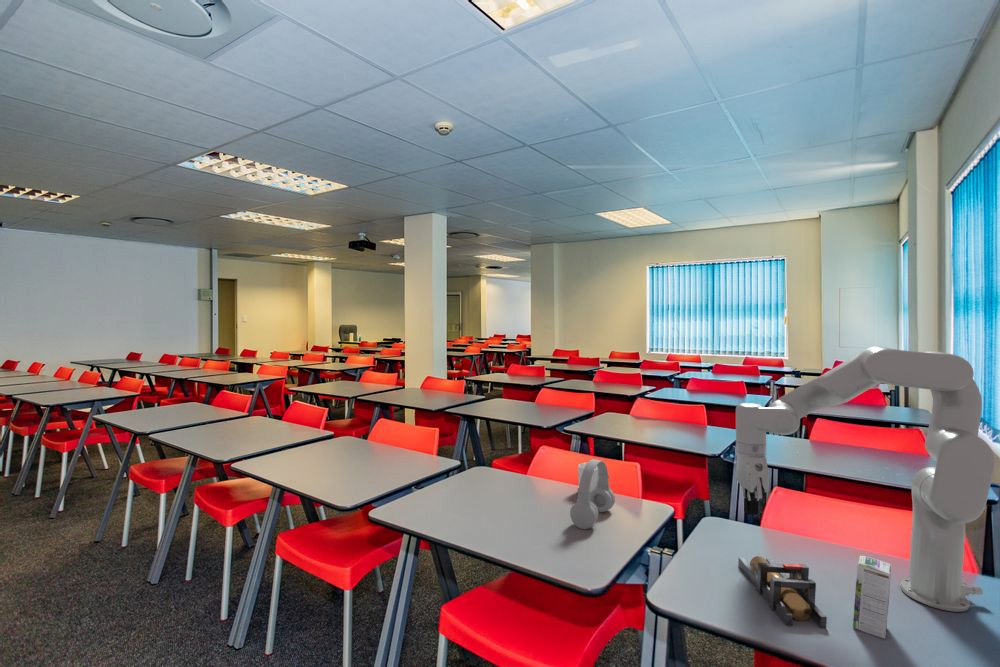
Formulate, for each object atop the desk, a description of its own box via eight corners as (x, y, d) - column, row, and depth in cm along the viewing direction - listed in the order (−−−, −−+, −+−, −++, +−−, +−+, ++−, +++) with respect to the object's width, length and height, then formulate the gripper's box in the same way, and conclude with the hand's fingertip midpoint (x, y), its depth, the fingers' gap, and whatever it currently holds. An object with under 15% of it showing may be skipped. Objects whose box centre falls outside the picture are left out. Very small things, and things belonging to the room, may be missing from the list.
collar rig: (771, 567, 131) (773, 534, 130) (828, 627, 106) (830, 587, 105) (736, 565, 131) (738, 533, 131) (784, 625, 106) (786, 585, 106)
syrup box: (854, 616, 110) (857, 553, 109) (887, 627, 106) (891, 562, 106) (852, 628, 106) (856, 563, 105) (887, 640, 102) (891, 573, 101)
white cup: (573, 489, 185) (574, 463, 184) (592, 487, 187) (593, 462, 187) (583, 497, 177) (584, 470, 177) (602, 495, 180) (603, 468, 179)
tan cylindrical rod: (749, 572, 128) (749, 556, 128) (766, 572, 128) (766, 556, 128) (791, 620, 108) (791, 601, 108) (811, 621, 108) (811, 601, 108)
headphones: (593, 533, 149) (595, 471, 148) (568, 526, 153) (570, 466, 152) (615, 511, 166) (617, 455, 165) (592, 505, 170) (593, 451, 169)
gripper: (778, 455, 127) (778, 524, 128) (752, 441, 142) (752, 503, 143) (749, 455, 128) (749, 524, 128) (726, 441, 143) (726, 503, 143)
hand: (751, 513), depth 135 cm, fingers closed
